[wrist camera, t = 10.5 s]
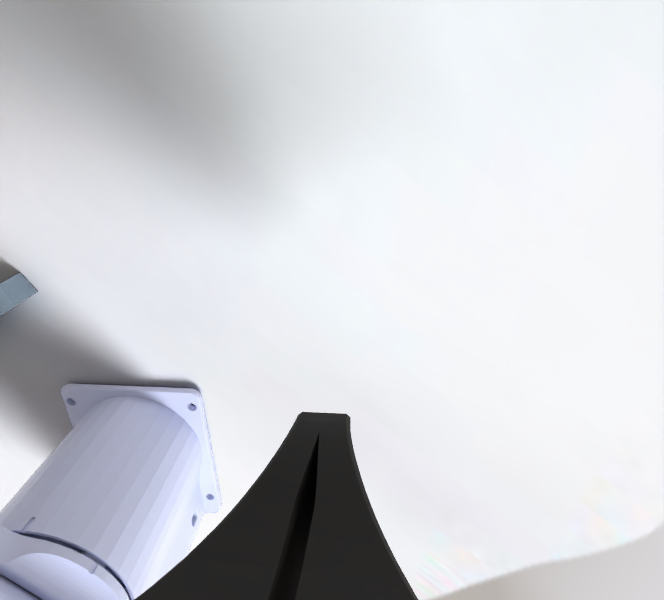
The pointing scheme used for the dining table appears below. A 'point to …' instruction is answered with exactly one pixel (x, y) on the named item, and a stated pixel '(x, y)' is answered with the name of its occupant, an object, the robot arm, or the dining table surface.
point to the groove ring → (14, 292)
